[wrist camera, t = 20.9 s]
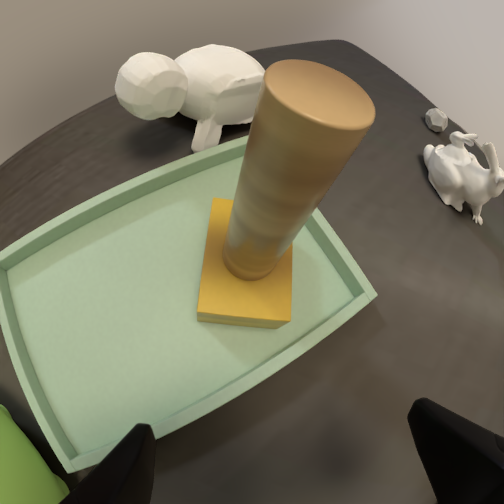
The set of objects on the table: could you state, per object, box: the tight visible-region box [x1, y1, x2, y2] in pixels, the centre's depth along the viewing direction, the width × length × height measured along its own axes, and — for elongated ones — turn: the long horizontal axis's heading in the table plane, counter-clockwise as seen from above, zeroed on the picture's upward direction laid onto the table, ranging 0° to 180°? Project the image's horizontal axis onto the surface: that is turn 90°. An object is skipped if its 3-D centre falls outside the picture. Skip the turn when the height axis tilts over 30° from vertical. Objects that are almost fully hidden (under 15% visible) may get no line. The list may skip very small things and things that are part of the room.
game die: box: [425, 108, 448, 132], centre depth 32 cm, size 4×4×3 cm
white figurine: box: [423, 131, 504, 226], centre depth 23 cm, size 12×8×10 cm, turn 36°
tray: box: [0, 136, 377, 473], centre depth 17 cm, size 24×16×2 cm, turn 122°
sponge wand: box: [197, 60, 375, 329], centre depth 12 cm, size 7×5×14 cm
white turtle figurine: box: [115, 44, 265, 154], centre depth 21 cm, size 9×8×15 cm
